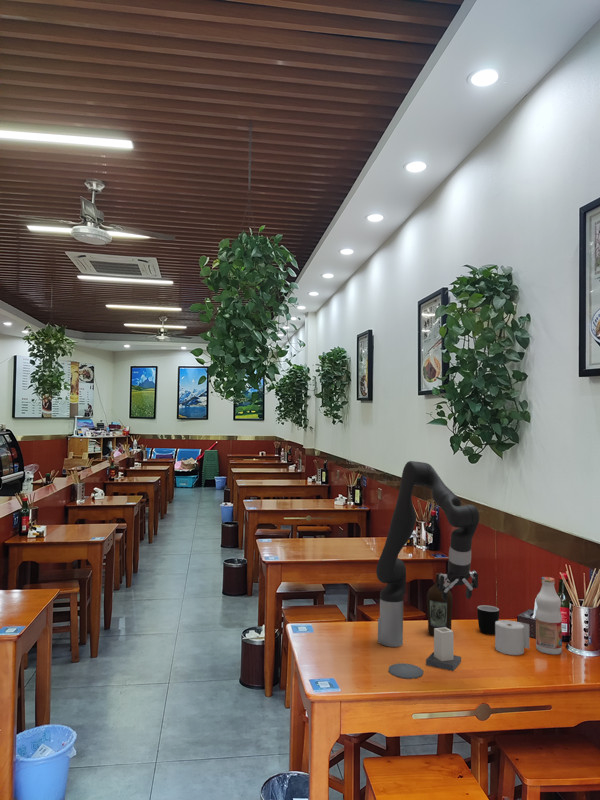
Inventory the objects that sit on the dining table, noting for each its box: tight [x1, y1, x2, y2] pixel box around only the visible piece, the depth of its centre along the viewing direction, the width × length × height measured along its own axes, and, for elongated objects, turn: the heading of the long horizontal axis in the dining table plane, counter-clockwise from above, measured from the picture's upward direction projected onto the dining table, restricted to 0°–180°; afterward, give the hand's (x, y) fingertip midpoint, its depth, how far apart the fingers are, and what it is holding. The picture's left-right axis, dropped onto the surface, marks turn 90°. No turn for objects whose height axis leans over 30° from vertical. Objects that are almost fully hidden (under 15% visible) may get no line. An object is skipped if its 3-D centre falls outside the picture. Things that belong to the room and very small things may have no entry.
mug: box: [476, 604, 500, 636], centre depth 245 cm, size 12×9×10 cm
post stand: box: [425, 651, 462, 672], centre depth 207 cm, size 10×10×10 cm
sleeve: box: [433, 627, 455, 661], centre depth 207 cm, size 5×5×10 cm
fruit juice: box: [535, 576, 563, 655], centre depth 223 cm, size 9×9×28 cm
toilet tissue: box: [494, 619, 531, 656], centre depth 223 cm, size 11×12×10 cm
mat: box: [388, 662, 424, 680], centre depth 198 cm, size 12×12×1 cm
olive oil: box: [426, 572, 454, 637], centre depth 240 cm, size 11×11×25 cm
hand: (456, 598), depth 202 cm, fingers open, 8 cm apart
